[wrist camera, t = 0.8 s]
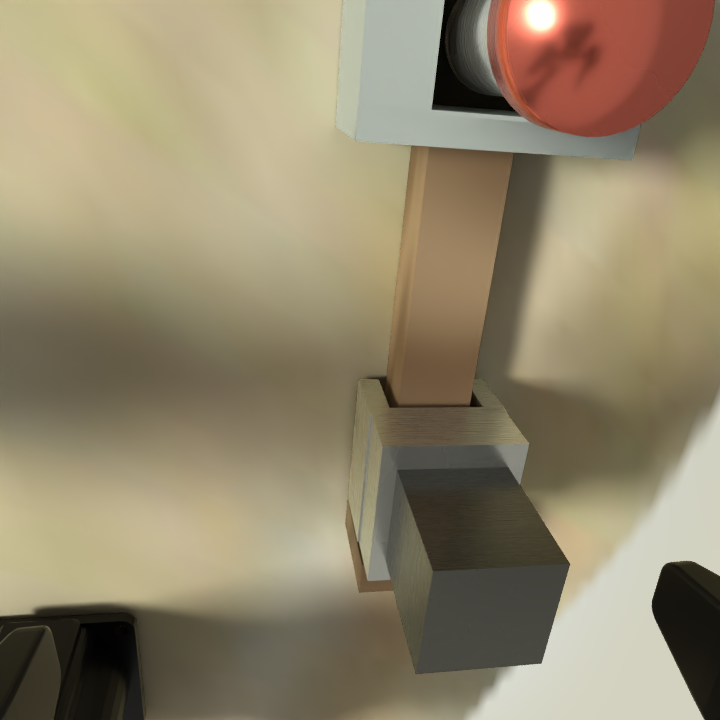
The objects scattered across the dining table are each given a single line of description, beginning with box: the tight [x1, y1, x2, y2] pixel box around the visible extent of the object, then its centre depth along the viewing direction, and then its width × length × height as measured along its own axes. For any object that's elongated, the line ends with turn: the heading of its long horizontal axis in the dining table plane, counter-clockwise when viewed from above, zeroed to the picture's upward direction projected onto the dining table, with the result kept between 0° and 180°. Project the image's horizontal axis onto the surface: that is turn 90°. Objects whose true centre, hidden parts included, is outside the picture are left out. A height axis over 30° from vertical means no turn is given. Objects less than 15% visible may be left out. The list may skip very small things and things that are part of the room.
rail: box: [346, 145, 514, 592], centre depth 20 cm, size 14×4×4 cm, turn 175°
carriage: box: [348, 379, 570, 674], centre depth 19 cm, size 5×4×8 cm
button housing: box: [336, 0, 641, 160], centre depth 15 cm, size 5×7×4 cm
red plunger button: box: [445, 0, 715, 137], centre depth 13 cm, size 4×4×5 cm
